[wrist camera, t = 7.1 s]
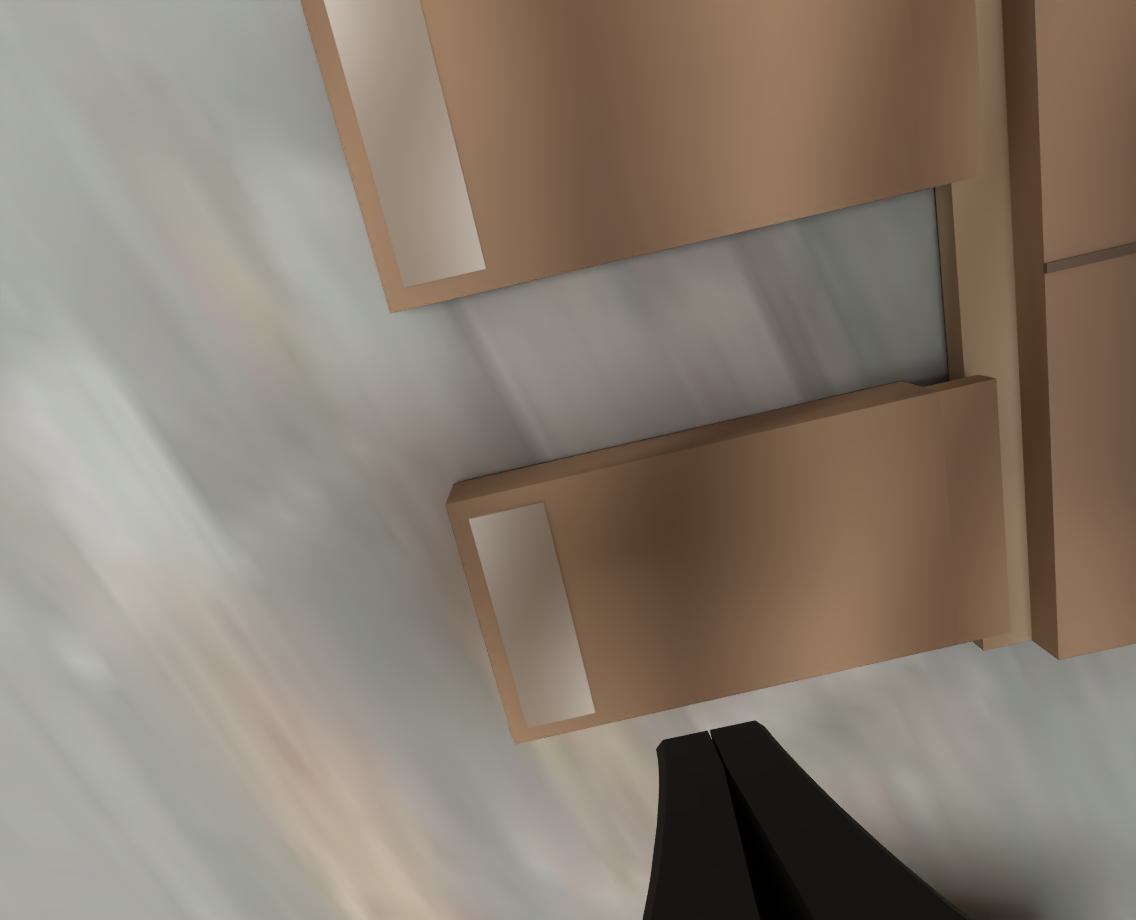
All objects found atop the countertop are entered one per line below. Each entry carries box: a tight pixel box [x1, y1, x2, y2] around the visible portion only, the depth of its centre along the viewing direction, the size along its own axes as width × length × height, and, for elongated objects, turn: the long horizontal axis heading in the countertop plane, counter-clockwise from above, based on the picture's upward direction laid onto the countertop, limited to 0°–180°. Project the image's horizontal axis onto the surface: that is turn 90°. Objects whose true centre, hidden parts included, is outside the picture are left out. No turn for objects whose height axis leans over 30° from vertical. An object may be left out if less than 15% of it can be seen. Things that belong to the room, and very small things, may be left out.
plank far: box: [446, 375, 1011, 744], centre depth 16 cm, size 12×6×2 cm, turn 103°
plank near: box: [301, 0, 985, 313], centre depth 13 cm, size 12×6×2 cm, turn 103°
